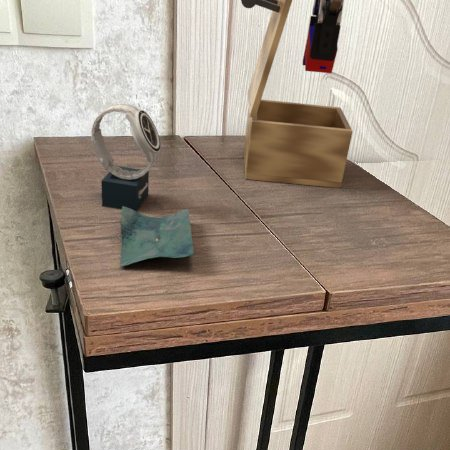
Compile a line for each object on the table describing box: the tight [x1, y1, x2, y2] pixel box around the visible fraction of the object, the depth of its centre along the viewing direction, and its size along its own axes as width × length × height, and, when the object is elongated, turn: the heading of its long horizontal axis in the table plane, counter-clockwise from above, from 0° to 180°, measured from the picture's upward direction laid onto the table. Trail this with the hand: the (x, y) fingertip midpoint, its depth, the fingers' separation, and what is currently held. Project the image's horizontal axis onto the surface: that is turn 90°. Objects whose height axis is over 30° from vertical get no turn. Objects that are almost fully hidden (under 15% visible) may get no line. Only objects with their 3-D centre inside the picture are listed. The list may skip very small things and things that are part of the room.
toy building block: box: [302, 26, 339, 74], centre depth 83 cm, size 4×4×8 cm
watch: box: [90, 103, 162, 212], centre depth 75 cm, size 6×8×11 cm
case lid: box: [240, 0, 293, 118], centre depth 82 cm, size 14×12×6 cm
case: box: [243, 98, 353, 189], centre depth 90 cm, size 14×12×8 cm
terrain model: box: [119, 206, 195, 267], centre depth 70 cm, size 13×8×2 cm, turn 5°
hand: (319, 53), depth 83 cm, fingers closed on toy building block, 4 cm apart
